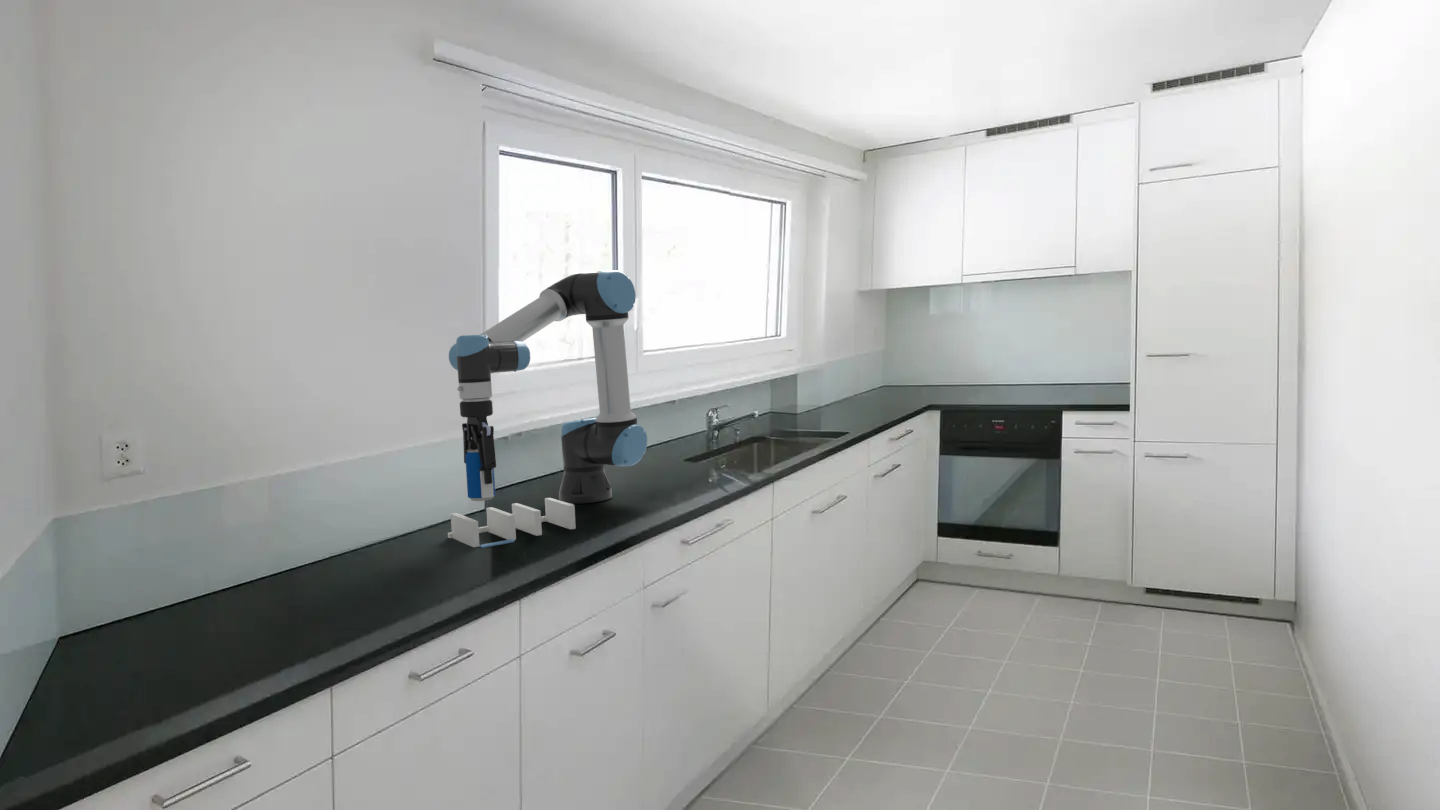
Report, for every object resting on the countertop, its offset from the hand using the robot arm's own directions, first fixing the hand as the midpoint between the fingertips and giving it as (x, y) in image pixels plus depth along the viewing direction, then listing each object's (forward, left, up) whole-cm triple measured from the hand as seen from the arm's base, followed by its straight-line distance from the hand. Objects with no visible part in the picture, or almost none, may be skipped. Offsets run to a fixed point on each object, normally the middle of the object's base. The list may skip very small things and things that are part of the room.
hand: (481, 495), depth 233 cm
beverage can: (0, 0, -1) cm, 1 cm away
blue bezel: (0, +7, -11) cm, 13 cm away
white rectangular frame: (-8, -1, -11) cm, 14 cm away
